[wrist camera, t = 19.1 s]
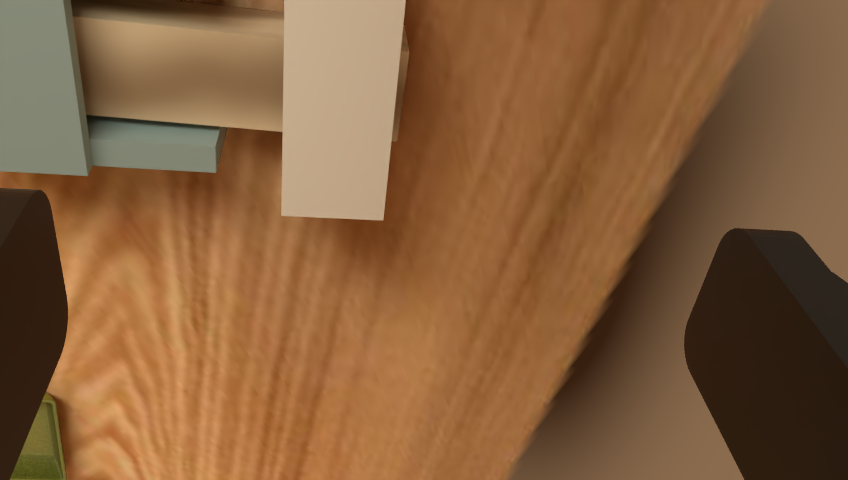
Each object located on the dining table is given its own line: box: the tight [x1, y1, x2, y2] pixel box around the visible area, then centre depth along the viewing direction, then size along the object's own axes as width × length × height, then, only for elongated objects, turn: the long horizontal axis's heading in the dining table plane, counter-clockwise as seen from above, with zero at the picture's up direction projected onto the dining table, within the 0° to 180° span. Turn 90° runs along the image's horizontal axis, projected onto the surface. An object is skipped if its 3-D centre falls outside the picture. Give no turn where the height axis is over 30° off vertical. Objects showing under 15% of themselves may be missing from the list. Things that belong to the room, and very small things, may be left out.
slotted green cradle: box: [0, 0, 227, 176], centre depth 38 cm, size 11×12×6 cm
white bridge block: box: [281, 0, 406, 220], centre depth 39 cm, size 12×5×8 cm, turn 174°
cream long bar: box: [71, 0, 410, 142], centre depth 41 cm, size 5×18×4 cm, turn 82°
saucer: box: [10, 393, 67, 480], centre depth 56 cm, size 9×9×2 cm
